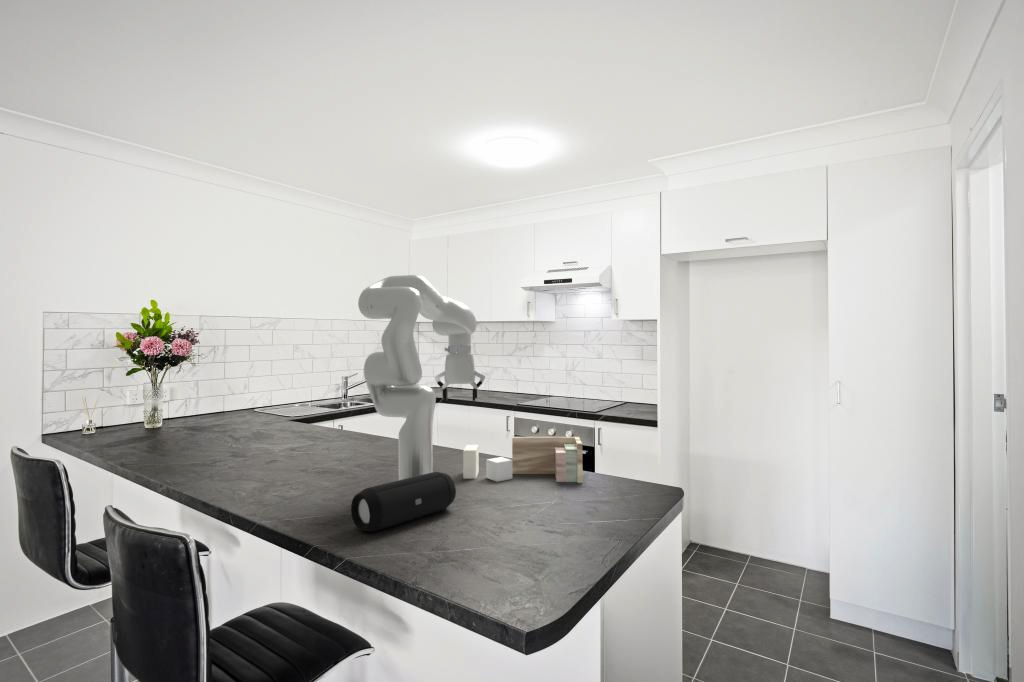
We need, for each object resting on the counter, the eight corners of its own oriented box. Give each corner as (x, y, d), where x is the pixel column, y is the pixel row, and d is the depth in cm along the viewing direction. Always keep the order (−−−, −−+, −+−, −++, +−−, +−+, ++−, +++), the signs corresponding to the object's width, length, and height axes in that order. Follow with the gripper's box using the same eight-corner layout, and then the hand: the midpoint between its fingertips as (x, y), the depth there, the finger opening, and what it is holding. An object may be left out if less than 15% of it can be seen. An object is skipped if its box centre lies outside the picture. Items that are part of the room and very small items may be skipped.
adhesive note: (496, 481, 165) (496, 462, 165) (486, 478, 170) (486, 459, 170) (512, 478, 169) (512, 460, 169) (501, 475, 174) (501, 456, 174)
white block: (475, 478, 169) (475, 450, 169) (463, 478, 170) (463, 450, 170) (478, 471, 178) (478, 445, 178) (466, 471, 178) (466, 444, 179)
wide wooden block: (582, 482, 163) (582, 443, 163) (511, 482, 164) (510, 443, 164) (579, 473, 175) (578, 436, 175) (512, 472, 176) (512, 436, 176)
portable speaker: (372, 539, 118) (372, 494, 118) (348, 529, 124) (348, 486, 124) (458, 511, 137) (458, 473, 137) (433, 504, 143) (433, 467, 143)
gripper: (433, 350, 178) (433, 401, 178) (484, 350, 178) (484, 401, 178) (436, 350, 186) (436, 399, 185) (485, 350, 185) (485, 399, 185)
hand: (460, 400), depth 181 cm, fingers open, 9 cm apart
